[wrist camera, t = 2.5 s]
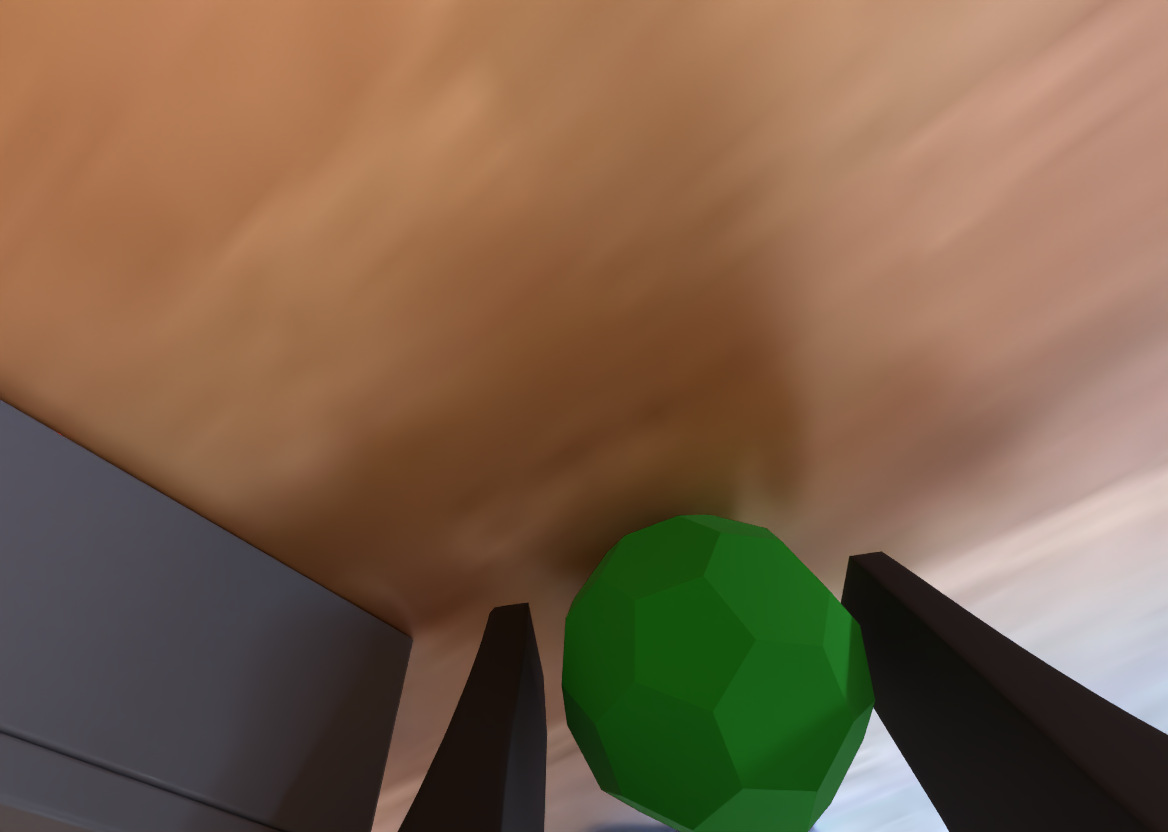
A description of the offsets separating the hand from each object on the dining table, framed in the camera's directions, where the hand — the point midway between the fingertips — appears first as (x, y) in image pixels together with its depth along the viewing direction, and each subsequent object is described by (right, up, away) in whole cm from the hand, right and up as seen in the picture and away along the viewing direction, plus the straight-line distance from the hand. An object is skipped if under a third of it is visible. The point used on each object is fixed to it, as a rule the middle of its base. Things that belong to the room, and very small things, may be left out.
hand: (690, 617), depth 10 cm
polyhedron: (0, +1, +1) cm, 2 cm away
